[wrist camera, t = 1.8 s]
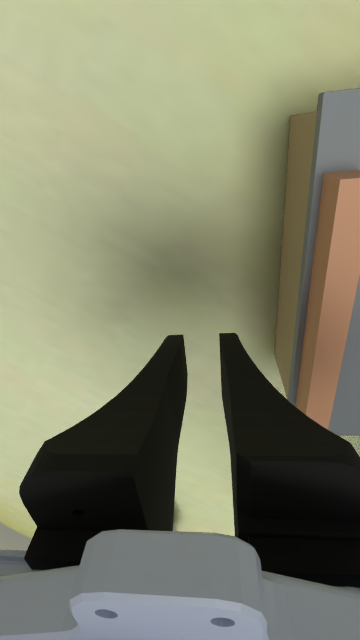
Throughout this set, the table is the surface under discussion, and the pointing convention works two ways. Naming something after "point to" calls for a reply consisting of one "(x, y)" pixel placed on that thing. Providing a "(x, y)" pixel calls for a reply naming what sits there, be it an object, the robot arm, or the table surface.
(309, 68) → the table surface
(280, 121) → the table surface
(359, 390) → the sliding lid
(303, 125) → the box
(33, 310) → the table surface
